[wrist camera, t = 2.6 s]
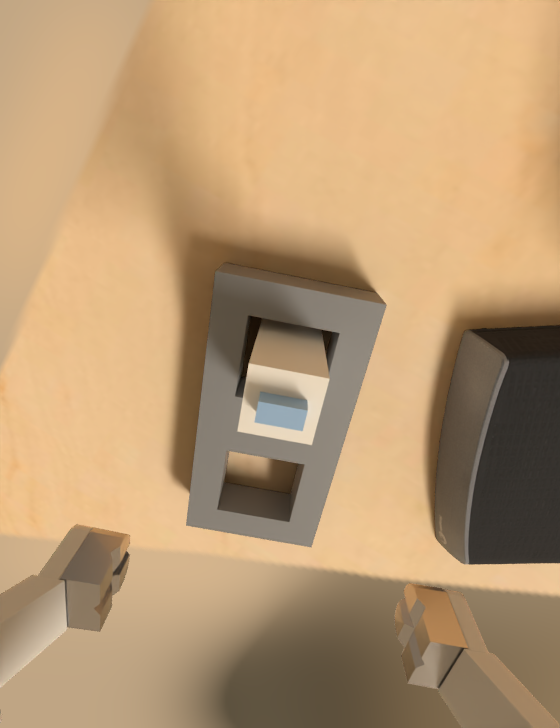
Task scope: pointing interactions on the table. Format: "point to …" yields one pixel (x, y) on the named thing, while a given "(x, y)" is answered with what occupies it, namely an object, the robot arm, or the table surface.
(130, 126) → the table surface
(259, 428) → the plug
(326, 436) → the socket panel
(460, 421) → the external hard drive
